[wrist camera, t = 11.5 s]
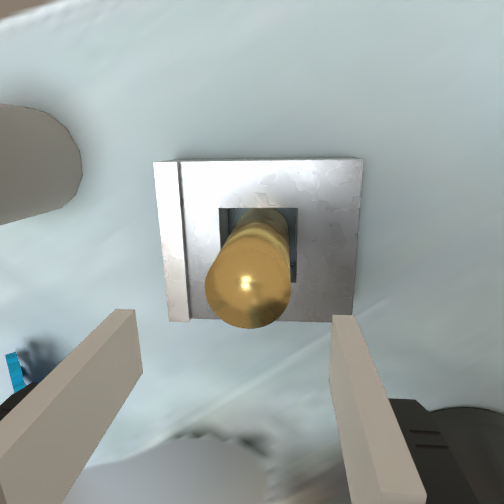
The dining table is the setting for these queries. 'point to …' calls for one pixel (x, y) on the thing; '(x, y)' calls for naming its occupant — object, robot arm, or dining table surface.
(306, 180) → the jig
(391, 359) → the dining table surface
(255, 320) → the brass cylinder peg
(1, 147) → the cup
